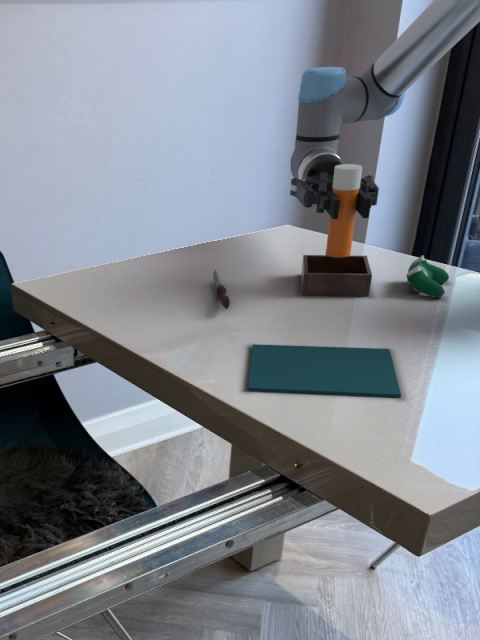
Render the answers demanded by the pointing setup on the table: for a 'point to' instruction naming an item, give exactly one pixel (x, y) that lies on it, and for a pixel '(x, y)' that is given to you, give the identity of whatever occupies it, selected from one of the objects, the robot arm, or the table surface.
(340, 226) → the glue stick
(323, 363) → the mat
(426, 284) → the gaming controller
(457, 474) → the table surface
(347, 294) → the box
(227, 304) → the knife
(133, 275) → the table surface
